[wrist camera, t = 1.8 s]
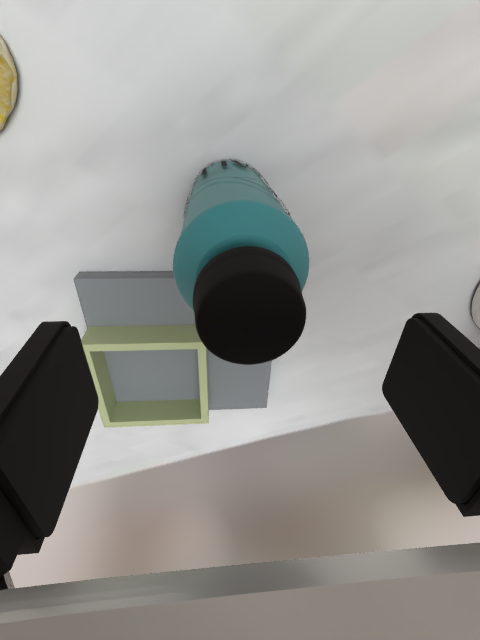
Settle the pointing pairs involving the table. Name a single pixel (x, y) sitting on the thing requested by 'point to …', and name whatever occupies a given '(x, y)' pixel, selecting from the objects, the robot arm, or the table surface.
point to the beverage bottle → (241, 266)
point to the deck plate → (156, 354)
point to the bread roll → (6, 83)
